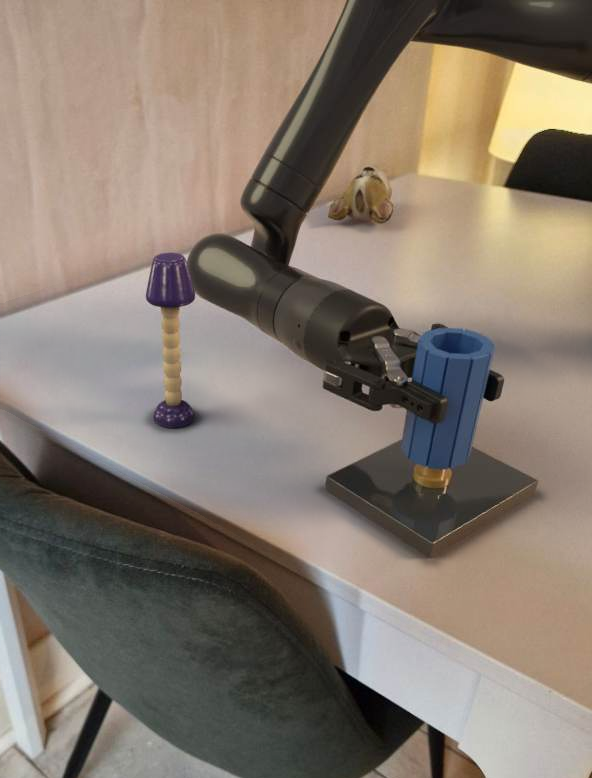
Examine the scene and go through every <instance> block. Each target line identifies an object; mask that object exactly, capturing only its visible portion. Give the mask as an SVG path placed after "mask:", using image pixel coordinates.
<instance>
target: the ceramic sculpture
mask: <svg viewBox="0 0 592 778" xmlns="http://www.w3.org/2000/svg"><path fill="white" fill-rule="evenodd" d="M390 183H391V182H390V181H389V179H388V177H387V176H386V174H385V173H384V171H382V170H381V169H380V168H379V166H378V165H377V164H374V165H373V166H366V167H364V168H362V169H360V171H358V173H357V175H356V176H355V177H354V178H353V179H352V180H351V181H350V183H349V184H348V185H347V187H346V189H345V191H344V192H343V195H342V196H341V197H337V198H335V199H334V200H333V202H332V203H331V204H330V206H329V210H328V214H327V216H328V219H330V220H334V221H342V220H344V219H345V218H346V217H349V218H350V219H352V220H353V221H356V222H366V223H367V222H371V221H373V222H375V223H377V224H385V223H388V221H390V219H391V218H392V215H393V212H394V203H393V202H392V201H391V198H392V195H393V188H392V186H391V184H390Z"/></svg>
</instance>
